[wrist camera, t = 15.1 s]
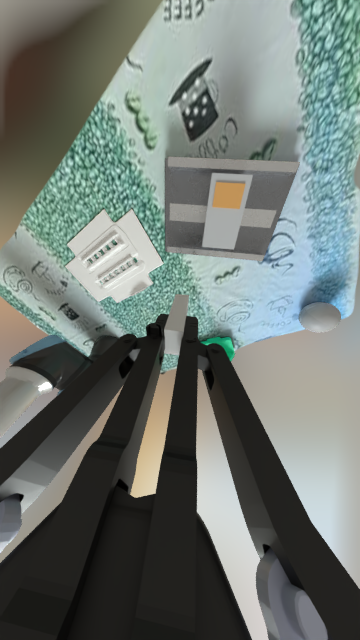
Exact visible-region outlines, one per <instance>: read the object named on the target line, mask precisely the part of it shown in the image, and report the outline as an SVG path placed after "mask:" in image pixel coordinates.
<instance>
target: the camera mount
mask: <svg viewBox="0 0 360 640" xmlns="http://www.w3.org/2000/svg"><path fill="white" fill-rule="evenodd" d="M201 343H203V344H205V345H209V344H211V343H217V344H220V345H221V346H222V347H223V348H224V349H225V351H226V353H227V355H228V357H229V359H230V361H232V359H233V357H234V355H235V353H234V349H233V345H232V341H231V338H230V337H225V338H220V337H215V338H210V339H207V341H203V342H201Z"/></svg>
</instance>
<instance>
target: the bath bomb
mask: <svg viewBox="0 0 360 640" xmlns="http://www.w3.org/2000/svg"><path fill="white" fill-rule="evenodd" d="M340 320H341V314H340V311H339V310H338V309H337V308H336V307H335V306H334V305H332V304H329V303H325V302H315V303H311V304H309V305H307V306H305V307H304V308H303V309H302V310H301V311H300V313H299V321H300V323H301V325H302V326H303V327H304V328H306V329H307V330H310V331H313V332H326V331H330V330H332V329H334V328H335V327H336V326H337V325H338V324H339V322H340Z"/></svg>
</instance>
